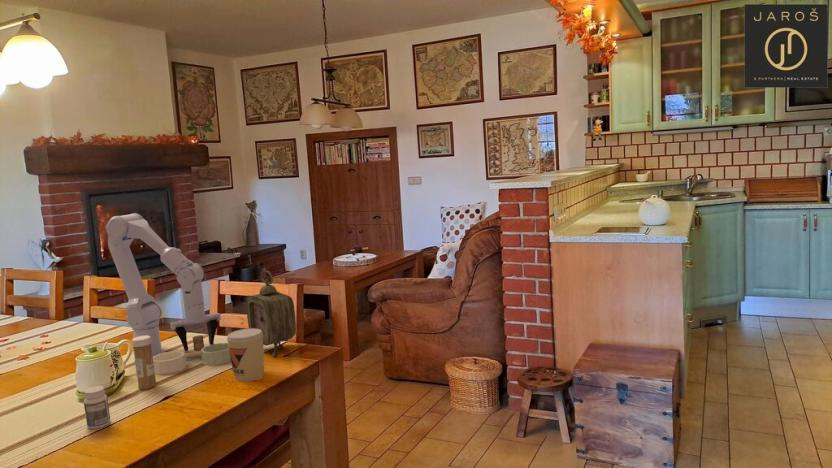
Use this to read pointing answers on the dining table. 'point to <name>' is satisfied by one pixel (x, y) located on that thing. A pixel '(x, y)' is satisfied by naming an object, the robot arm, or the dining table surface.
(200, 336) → the lid
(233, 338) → the coffee cup
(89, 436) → the dining table surface
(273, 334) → the tabletop clock
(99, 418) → the pill bottle
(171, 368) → the cream bowl
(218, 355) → the sage bowl
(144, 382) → the sprinkles bottle
